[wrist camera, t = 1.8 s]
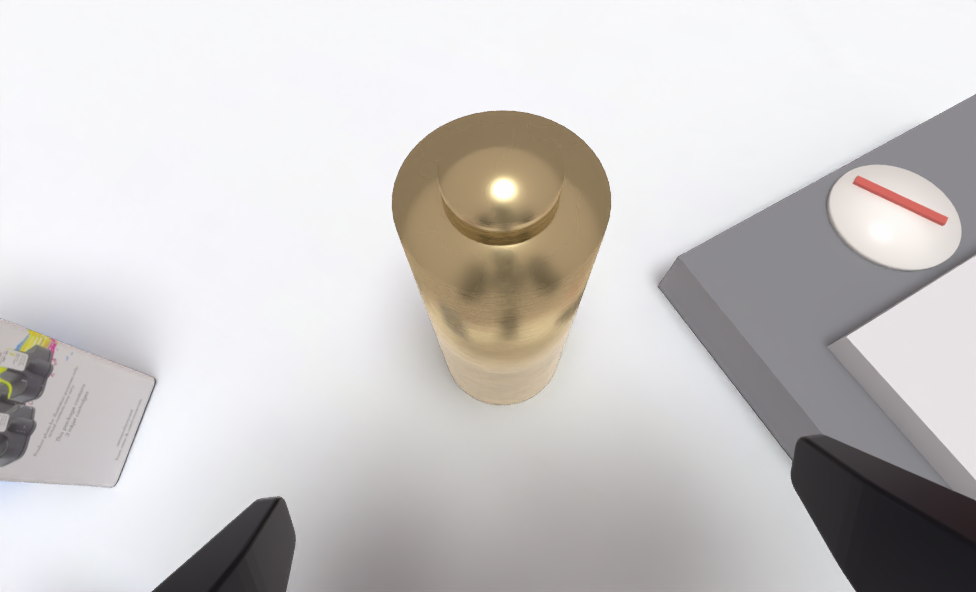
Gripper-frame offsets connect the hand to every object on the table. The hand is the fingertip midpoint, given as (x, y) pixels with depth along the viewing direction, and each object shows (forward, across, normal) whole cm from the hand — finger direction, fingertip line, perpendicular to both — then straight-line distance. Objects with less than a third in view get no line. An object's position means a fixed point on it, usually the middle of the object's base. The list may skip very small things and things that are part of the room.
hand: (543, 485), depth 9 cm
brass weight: (+14, 0, +4) cm, 14 cm away
